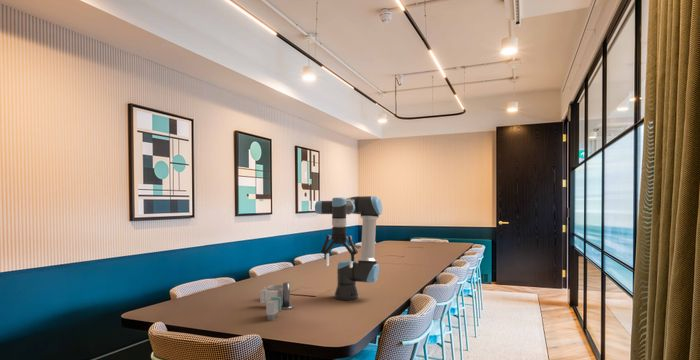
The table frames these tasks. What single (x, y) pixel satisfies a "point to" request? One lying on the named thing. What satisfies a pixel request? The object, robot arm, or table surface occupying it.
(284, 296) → the riser post
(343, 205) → the robot arm
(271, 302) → the duct stub
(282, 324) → the table surface
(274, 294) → the elbow
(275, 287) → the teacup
